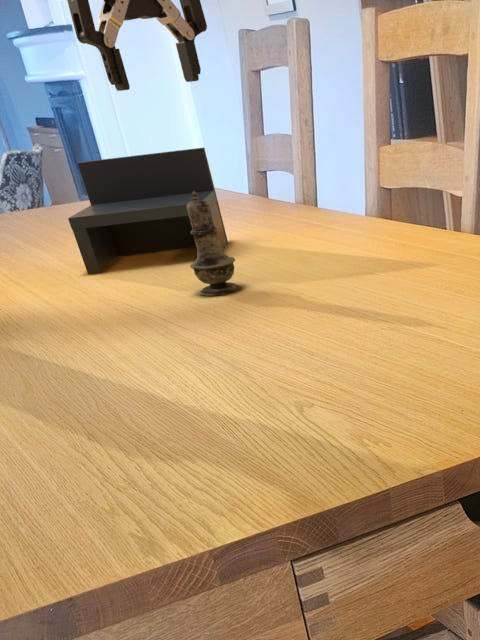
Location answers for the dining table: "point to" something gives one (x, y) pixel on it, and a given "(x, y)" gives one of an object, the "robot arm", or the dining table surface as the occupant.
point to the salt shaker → (209, 251)
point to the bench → (142, 205)
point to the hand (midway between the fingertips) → (158, 85)
